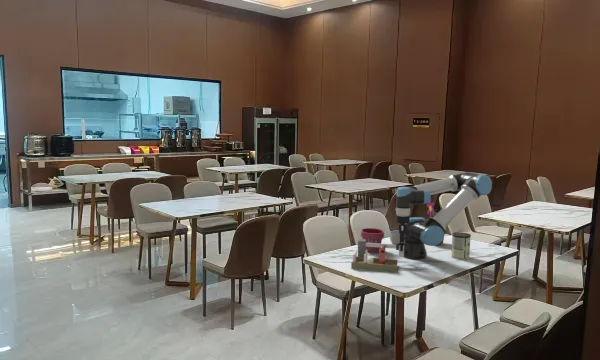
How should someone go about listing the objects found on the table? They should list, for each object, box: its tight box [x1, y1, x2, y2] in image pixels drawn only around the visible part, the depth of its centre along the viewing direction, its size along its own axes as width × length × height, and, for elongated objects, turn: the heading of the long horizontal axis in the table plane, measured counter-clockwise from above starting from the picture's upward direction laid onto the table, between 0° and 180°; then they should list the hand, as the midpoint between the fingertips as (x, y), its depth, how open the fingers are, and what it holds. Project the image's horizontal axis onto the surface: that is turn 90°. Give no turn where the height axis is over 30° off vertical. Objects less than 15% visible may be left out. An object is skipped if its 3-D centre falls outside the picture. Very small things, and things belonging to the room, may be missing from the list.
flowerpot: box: [426, 199, 448, 247], centre depth 295 cm, size 14×14×30 cm
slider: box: [357, 242, 407, 264], centre depth 247 cm, size 28×13×10 cm, turn 76°
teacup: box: [389, 229, 400, 245], centre depth 297 cm, size 14×11×8 cm
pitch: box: [350, 238, 398, 273], centre depth 246 cm, size 24×17×12 cm
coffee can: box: [450, 231, 472, 261], centre depth 264 cm, size 10×10×14 cm
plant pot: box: [360, 227, 385, 254], centre depth 277 cm, size 14×14×13 cm
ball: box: [366, 256, 374, 264], centre depth 245 cm, size 4×4×4 cm
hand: (401, 253), depth 249 cm, fingers open, 11 cm apart
